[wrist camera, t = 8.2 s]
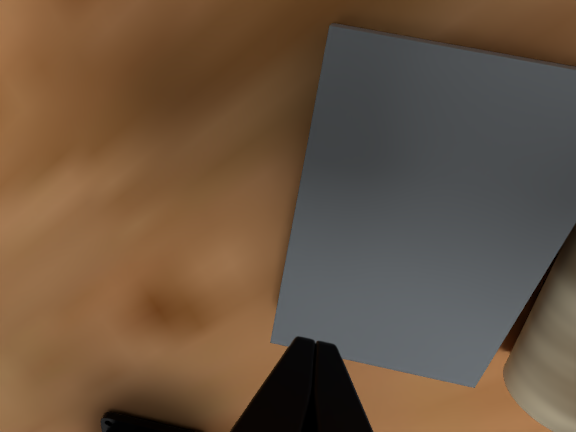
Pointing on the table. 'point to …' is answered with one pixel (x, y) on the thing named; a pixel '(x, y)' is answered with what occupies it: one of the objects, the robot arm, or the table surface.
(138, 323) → the table surface
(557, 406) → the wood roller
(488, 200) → the slate board
